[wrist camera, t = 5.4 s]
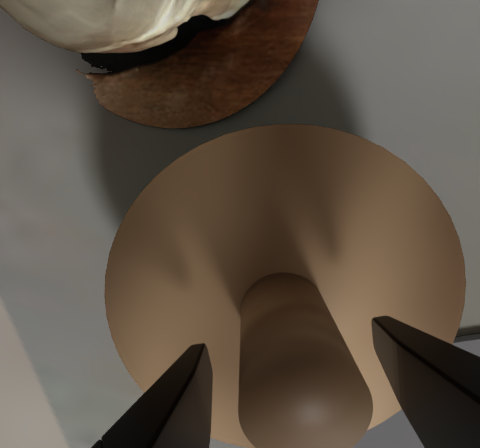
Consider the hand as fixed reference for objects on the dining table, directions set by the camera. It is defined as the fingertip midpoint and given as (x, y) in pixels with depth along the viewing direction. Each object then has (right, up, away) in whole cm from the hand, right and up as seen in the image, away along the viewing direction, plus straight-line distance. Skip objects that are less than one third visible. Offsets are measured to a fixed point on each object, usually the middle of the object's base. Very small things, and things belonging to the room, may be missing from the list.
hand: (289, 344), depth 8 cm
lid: (0, +1, +2) cm, 3 cm away
